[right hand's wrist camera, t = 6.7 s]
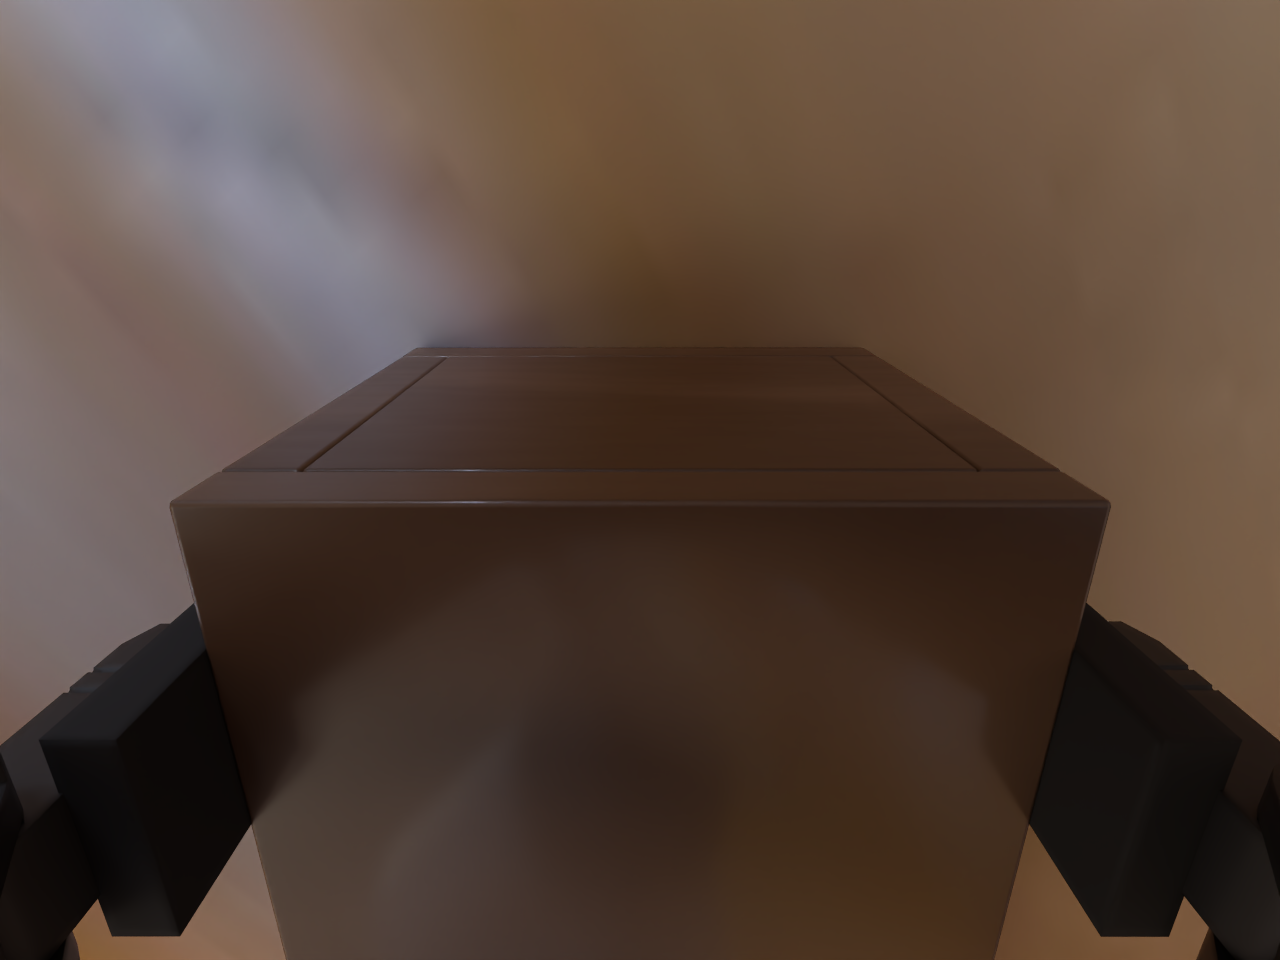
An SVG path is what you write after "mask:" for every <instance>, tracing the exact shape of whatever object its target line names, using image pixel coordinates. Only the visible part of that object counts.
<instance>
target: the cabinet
mask: <svg viewBox="0 0 1280 960" xmlns="http://www.w3.org/2000/svg"><path fill="white" fill-rule="evenodd" d="M1110 508H1111V505H1110V502H1109V500H1107V499H1105V498H1104V497H1102V496H1101V495H1099V494H1097V493H1096V492H1094V491H1092V490H1091V489H1089V488H1088V487H1086V486H1084V485H1083V484H1081V483H1080V482H1078V481H1076V480H1075V479H1073V478H1072V477H1070V476H1068V475H1067V474H1065V473H1063V472H1060V470H1059V469H1058V468H1056V467H1055V466H1053V465H1051V464H1050V463H1048V462H1047V461H1045V460H1043V459H1042V458H1040V457H1038V456H1037V455H1035V454H1034V453H1032V452H1030V451H1029V450H1027V449H1026V448H1024V447H1022V446H1021V445H1019V444H1017V443H1016V442H1014V441H1013V440H1011V439H1009V438H1008V437H1006V436H1005V435H1003V434H1001V433H1000V432H998V431H996V430H995V429H993V428H992V427H990V426H988V425H987V424H985V423H984V422H982V421H980V420H979V419H977V418H975V417H974V416H972V415H971V414H969V413H967V412H966V411H964V410H963V409H961V408H959V407H958V406H956V405H954V404H953V403H951V402H950V401H948V400H946V399H945V398H943V397H942V396H940V395H938V394H937V393H935V392H933V391H932V390H930V389H929V388H927V387H925V386H924V385H922V384H920V383H919V382H917V381H916V380H914V379H912V378H911V377H909V376H908V375H906V374H904V373H903V372H901V371H899V370H898V369H896V368H895V367H893V366H891V365H890V364H888V363H887V362H885V361H883V360H882V359H880V358H878V357H876V356H875V355H873V354H872V353H870V352H869V351H867V350H865V349H864V348H416V349H414V350H413V351H411V352H409V353H408V354H406V355H405V356H403V357H402V358H401V359H399V360H397V361H396V362H394V363H393V364H391V365H389V366H388V367H386V368H385V369H383V370H381V371H380V372H378V373H377V374H375V375H373V376H372V377H370V378H369V379H367V380H365V381H364V382H362V383H361V384H359V385H357V386H356V387H354V388H353V389H351V390H349V391H348V392H346V393H345V394H343V395H341V396H340V397H338V398H337V399H335V400H333V401H332V402H330V403H329V404H327V405H325V406H324V407H322V408H321V409H319V410H317V411H316V412H314V413H313V414H311V415H309V416H308V417H306V418H305V419H303V420H301V421H300V422H298V423H297V424H295V425H293V426H292V427H290V428H289V429H287V430H285V431H284V432H282V433H281V434H279V435H277V436H276V437H274V438H273V439H271V440H269V441H268V442H266V443H265V444H263V445H261V446H260V447H258V448H257V449H255V450H253V451H252V452H250V453H249V454H247V455H245V456H244V457H242V458H241V459H239V460H237V461H236V462H234V463H233V464H231V465H229V466H228V467H226V468H225V469H223V471H222V472H218V473H216V474H214V475H213V476H211V477H210V478H208V479H206V480H205V481H203V482H202V483H200V484H198V485H197V486H195V487H194V488H192V489H190V490H189V491H187V492H186V493H184V494H182V495H181V496H179V497H177V498H176V499H174V500H173V501H171V503H170V511H171V515H172V518H173V522H174V526H175V530H176V534H177V538H178V542H179V546H180V550H181V553H182V557H183V561H184V565H185V569H186V573H187V577H188V581H189V584H190V588H191V592H192V596H193V600H194V604H195V608H196V612H197V615H198V619H199V623H200V627H201V631H202V635H203V639H204V643H205V646H206V650H207V654H208V658H209V662H210V666H211V670H212V674H213V677H214V681H215V685H216V689H217V693H218V697H219V701H220V705H221V709H222V712H223V716H224V720H225V724H226V728H227V732H228V736H229V740H230V743H231V747H232V751H233V755H234V759H235V763H236V767H237V771H238V774H239V778H240V782H241V786H242V790H243V794H244V798H245V802H246V805H247V809H248V813H249V817H250V821H251V825H252V829H253V833H254V837H255V840H256V844H257V848H258V852H259V856H260V860H261V864H262V868H263V871H264V875H265V879H266V883H267V887H268V891H269V895H270V899H271V902H272V906H273V910H274V914H275V918H276V922H277V926H278V930H279V933H280V937H281V941H282V945H283V949H284V953H285V957H286V960H994V958H995V954H996V950H997V946H998V942H999V938H1000V935H1001V931H1002V927H1003V923H1004V919H1005V915H1006V911H1007V907H1008V904H1009V900H1010V896H1011V892H1012V888H1013V884H1014V880H1015V876H1016V873H1017V869H1018V865H1019V861H1020V857H1021V853H1022V849H1023V845H1024V841H1025V838H1026V834H1027V830H1028V826H1029V822H1030V818H1031V814H1032V810H1033V807H1034V803H1035V799H1036V795H1037V791H1038V787H1039V783H1040V779H1041V776H1042V772H1043V768H1044V764H1045V760H1046V756H1047V752H1048V748H1049V744H1050V741H1051V737H1052V733H1053V729H1054V725H1055V721H1056V717H1057V713H1058V710H1059V706H1060V702H1061V698H1062V694H1063V690H1064V686H1065V682H1066V679H1067V675H1068V671H1069V667H1070V663H1071V659H1072V655H1073V651H1074V647H1075V644H1076V640H1077V636H1078V632H1079V628H1080V624H1081V620H1082V616H1083V613H1084V609H1085V605H1086V601H1087V597H1088V593H1089V589H1090V585H1091V581H1092V578H1093V574H1094V570H1095V566H1096V562H1097V558H1098V554H1099V550H1100V547H1101V543H1102V539H1103V535H1104V531H1105V527H1106V523H1107V519H1108V516H1109V512H1110Z"/></svg>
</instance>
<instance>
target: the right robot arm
mask: <svg viewBox="0 0 1280 960" xmlns="http://www.w3.org/2000/svg"><path fill="white" fill-rule="evenodd" d="M1029 824H1030V826H1031V827H1032V829H1033V830H1034V832H1035V833H1036V835H1037V837H1038V838H1039V840H1040V841H1041V843H1042V845H1043V846H1044V848H1045V849H1046V851H1047V852H1048V854H1049V856H1050V857H1051V859H1052V860H1053V862H1054V863H1055V865H1056V867H1057V868H1058V870H1059V871H1060V873H1061V874H1062V876H1063V878H1064V879H1065V881H1066V882H1067V884H1068V885H1069V887H1070V889H1071V890H1072V892H1073V893H1074V895H1075V897H1076V898H1077V900H1078V901H1079V903H1080V904H1081V906H1082V908H1083V909H1084V911H1085V912H1086V914H1087V915H1088V917H1089V919H1090V920H1091V922H1092V923H1093V925H1094V926H1095V928H1096V930H1097V931H1098V933H1099V934H1100V936H1101V937H1169V935H1170V932H1171V930H1172V927H1173V924H1174V922H1175V919H1176V916H1177V914H1178V911H1179V908H1180V906H1181V903H1182V900H1183V898H1184V896H1185V898H1186V899H1187V900H1188V901H1189V903H1190V904H1191V905H1192V906H1193V908H1194V909H1195V910H1196V911H1197V913H1198V914H1199V915H1200V917H1201V918H1202V919H1203V920H1204V922H1205V923H1206V924H1207V925H1208V927H1209V929H1208V932H1207V934H1206V937H1205V939H1204V942H1203V944H1202V947H1201V949H1200V952H1199V954H1198V957H1197V959H1196V960H1280V741H1279V740H1278V739H1276V738H1275V737H1274V736H1273V735H1272V734H1270V733H1269V732H1268V731H1267V730H1266V729H1264V728H1263V727H1262V726H1261V725H1260V724H1258V723H1257V722H1256V721H1255V720H1253V719H1252V718H1251V717H1250V716H1249V715H1247V714H1246V713H1245V712H1244V711H1243V710H1241V709H1240V708H1239V707H1238V706H1237V705H1235V704H1234V703H1233V702H1232V701H1231V700H1229V699H1228V698H1227V697H1226V696H1225V695H1223V694H1222V693H1221V692H1220V691H1219V690H1213V689H1212V685H1211V684H1210V683H1209V682H1208V681H1206V680H1205V679H1204V678H1203V677H1202V676H1200V675H1199V674H1198V673H1197V672H1196V671H1194V670H1189V669H1188V665H1187V664H1186V663H1185V662H1184V661H1182V660H1181V659H1180V658H1179V657H1178V656H1176V655H1175V654H1174V653H1173V652H1171V651H1170V650H1169V649H1168V648H1167V647H1165V646H1164V645H1163V644H1162V643H1161V642H1159V641H1157V640H1156V639H1154V638H1152V637H1150V636H1148V635H1146V634H1144V633H1142V632H1140V631H1138V630H1136V629H1135V628H1133V627H1131V626H1129V625H1127V624H1125V623H1123V622H1108V621H1107V620H1105V619H1104V618H1103V617H1102V616H1101V615H1100V614H1099V613H1098V612H1096V611H1095V610H1094V609H1093V608H1092V607H1091V606H1090V605H1088V604H1087V603H1086V605H1085V609H1084V613H1083V616H1082V620H1081V624H1080V628H1079V632H1078V636H1077V640H1076V644H1075V647H1074V651H1073V655H1072V659H1071V663H1070V667H1069V671H1068V675H1067V679H1066V682H1065V686H1064V690H1063V694H1062V698H1061V702H1060V706H1059V710H1058V713H1057V717H1056V721H1055V725H1054V729H1053V733H1052V737H1051V741H1050V744H1049V748H1048V752H1047V756H1046V760H1045V764H1044V768H1043V772H1042V776H1041V779H1040V783H1039V787H1038V791H1037V795H1036V799H1035V803H1034V807H1033V810H1032V814H1031V818H1030V822H1029ZM250 825H251V821H250V817H249V813H248V809H247V805H246V802H245V798H244V794H243V790H242V786H241V782H240V778H239V774H238V771H237V767H236V763H235V759H234V755H233V751H232V747H231V743H230V740H229V736H228V732H227V728H226V724H225V720H224V716H223V712H222V709H221V705H220V701H219V697H218V693H217V689H216V685H215V681H214V677H213V674H212V670H211V666H210V662H209V658H208V654H207V650H206V646H205V643H204V639H203V635H202V631H201V627H200V623H199V619H198V615H197V612H196V608H195V604H194V603H193V604H192V605H191V606H190V607H189V608H188V609H187V610H186V611H184V612H183V613H182V614H181V615H180V616H179V617H178V618H176V619H175V620H174V621H173V622H172V623H171V624H159V625H157V626H155V627H153V628H152V629H150V630H148V631H146V632H144V633H142V634H140V635H138V636H136V637H134V638H133V639H131V640H129V641H127V642H125V643H123V644H122V645H120V646H119V647H118V648H117V649H116V650H114V651H113V652H112V653H111V654H110V655H108V656H107V657H106V658H105V659H104V660H102V661H101V662H100V663H99V664H98V665H96V666H95V667H94V671H93V673H87V674H86V675H84V676H83V677H82V678H81V679H80V680H78V681H77V682H76V683H75V684H74V685H72V686H71V687H70V691H69V693H63V694H62V695H60V696H59V697H58V698H57V699H56V700H55V701H53V702H52V703H51V704H50V705H49V706H47V707H46V708H45V709H44V710H43V711H41V712H40V713H39V714H38V715H37V716H35V717H34V718H33V719H32V720H31V721H29V722H28V723H27V724H26V725H25V726H23V727H22V728H21V729H20V730H19V731H17V732H16V733H15V734H14V735H13V736H11V737H10V738H9V739H8V740H7V741H5V742H4V743H3V744H2V745H1V746H0V960H80V957H79V951H78V945H77V942H76V939H75V937H74V934H73V932H72V931H73V929H74V928H75V927H76V925H77V924H78V923H79V922H80V920H81V919H82V918H83V917H84V915H85V914H86V913H87V912H88V910H89V909H90V908H91V906H92V905H93V904H94V903H95V901H96V900H97V899H98V900H99V903H100V905H101V908H102V911H103V913H104V916H105V919H106V921H107V924H108V927H109V929H110V932H111V935H112V936H181V934H182V932H183V931H184V929H185V928H186V926H187V924H188V923H189V921H190V920H191V918H192V917H193V915H194V913H195V912H196V910H197V909H198V907H199V906H200V904H201V902H202V901H203V899H204V898H205V896H206V895H207V893H208V891H209V890H210V888H211V887H212V885H213V883H214V882H215V880H216V879H217V877H218V876H219V874H220V872H221V871H222V869H223V868H224V866H225V865H226V863H227V861H228V860H229V858H230V857H231V855H232V854H233V852H234V850H235V849H236V847H237V846H238V844H239V842H240V841H241V839H242V838H243V836H244V835H245V833H246V831H247V830H248V828H249V827H250Z"/></svg>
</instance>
